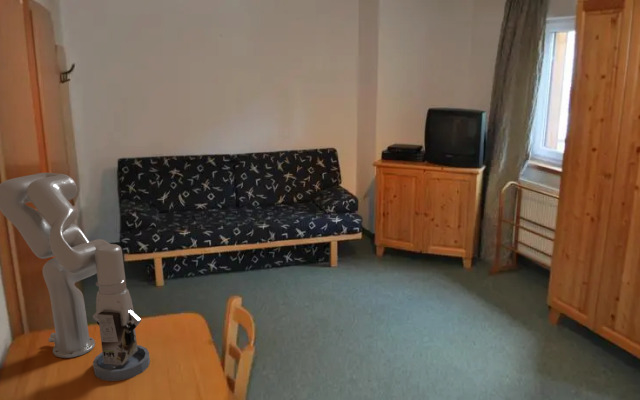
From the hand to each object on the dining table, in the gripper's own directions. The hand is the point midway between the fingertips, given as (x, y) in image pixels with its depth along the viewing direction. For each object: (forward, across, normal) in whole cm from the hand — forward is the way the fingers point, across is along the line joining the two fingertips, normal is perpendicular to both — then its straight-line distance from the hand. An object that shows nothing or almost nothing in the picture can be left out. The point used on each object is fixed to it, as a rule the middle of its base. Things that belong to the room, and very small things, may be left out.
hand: (119, 341), depth 170 cm
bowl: (+8, 0, 0) cm, 8 cm away
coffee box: (+5, 0, 0) cm, 5 cm away
